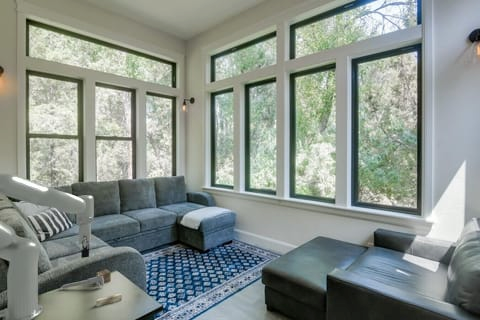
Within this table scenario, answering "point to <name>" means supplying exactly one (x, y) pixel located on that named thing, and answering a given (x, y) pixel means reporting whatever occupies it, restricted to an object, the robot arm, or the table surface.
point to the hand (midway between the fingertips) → (85, 253)
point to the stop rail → (109, 299)
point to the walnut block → (104, 276)
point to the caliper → (90, 281)
